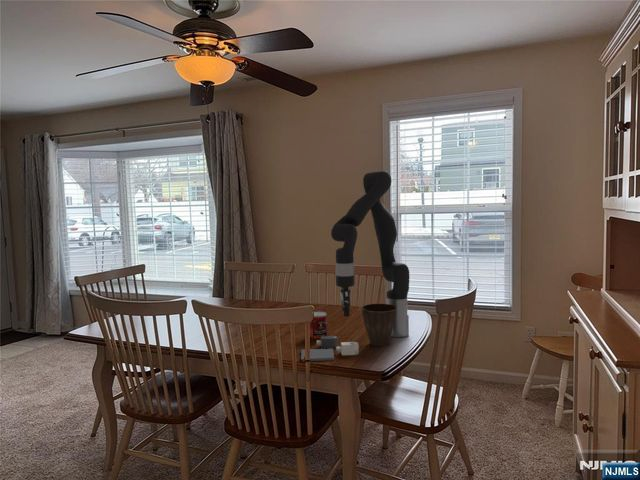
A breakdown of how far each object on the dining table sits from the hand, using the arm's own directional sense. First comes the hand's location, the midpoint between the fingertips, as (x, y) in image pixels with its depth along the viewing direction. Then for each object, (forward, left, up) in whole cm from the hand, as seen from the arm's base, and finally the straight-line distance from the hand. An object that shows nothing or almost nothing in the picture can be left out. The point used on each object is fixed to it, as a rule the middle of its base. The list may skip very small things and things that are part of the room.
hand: (345, 313), depth 181 cm
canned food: (+11, -23, -17) cm, 30 cm away
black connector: (+8, -9, -17) cm, 20 cm away
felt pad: (+12, +1, -17) cm, 21 cm away
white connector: (0, 0, -17) cm, 17 cm away
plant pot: (-15, -11, -17) cm, 25 cm away
